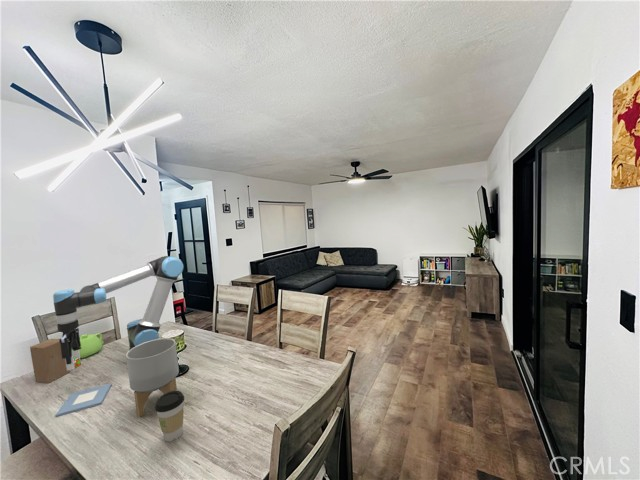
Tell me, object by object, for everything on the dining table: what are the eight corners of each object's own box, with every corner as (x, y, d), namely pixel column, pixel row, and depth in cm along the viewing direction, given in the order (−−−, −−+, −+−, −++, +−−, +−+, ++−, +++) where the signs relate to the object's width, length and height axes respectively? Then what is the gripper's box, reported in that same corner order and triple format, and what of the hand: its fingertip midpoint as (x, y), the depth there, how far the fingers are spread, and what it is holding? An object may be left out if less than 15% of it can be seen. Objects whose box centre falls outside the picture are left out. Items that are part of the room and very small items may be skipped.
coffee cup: (166, 426, 105) (162, 390, 104) (192, 423, 106) (188, 388, 105) (153, 447, 96) (148, 408, 94) (181, 443, 96) (176, 405, 95)
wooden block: (49, 383, 140) (43, 347, 139) (35, 382, 142) (29, 346, 141) (70, 372, 150) (65, 338, 148) (56, 371, 152) (51, 338, 150)
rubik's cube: (66, 370, 131) (63, 361, 129) (78, 363, 135) (75, 355, 134) (71, 372, 129) (67, 363, 128) (83, 364, 133) (79, 356, 132)
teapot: (72, 366, 157) (68, 345, 156) (56, 362, 162) (53, 342, 161) (111, 348, 178) (108, 329, 177) (96, 345, 183) (94, 327, 182)
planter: (190, 392, 126) (184, 340, 124) (154, 421, 108) (147, 361, 106) (161, 386, 132) (155, 336, 130) (122, 413, 114) (115, 356, 112)
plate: (111, 384, 135) (111, 382, 135) (101, 404, 121) (101, 401, 121) (71, 395, 129) (71, 393, 129) (55, 417, 114) (55, 414, 114)
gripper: (67, 316, 137) (73, 359, 139) (46, 330, 119) (54, 378, 121) (85, 313, 140) (91, 355, 142) (67, 326, 122) (74, 373, 124)
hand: (74, 366), depth 131 cm, fingers closed on rubik's cube, 6 cm apart
